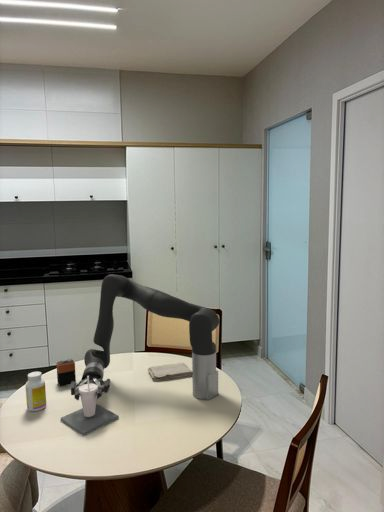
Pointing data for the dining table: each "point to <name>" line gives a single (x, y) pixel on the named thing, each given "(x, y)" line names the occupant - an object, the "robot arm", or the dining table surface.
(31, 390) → the supplement bottle
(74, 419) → the coaster
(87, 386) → the smoothie
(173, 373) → the washcloth
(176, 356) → the dining table surface
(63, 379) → the battery
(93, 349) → the robot arm
